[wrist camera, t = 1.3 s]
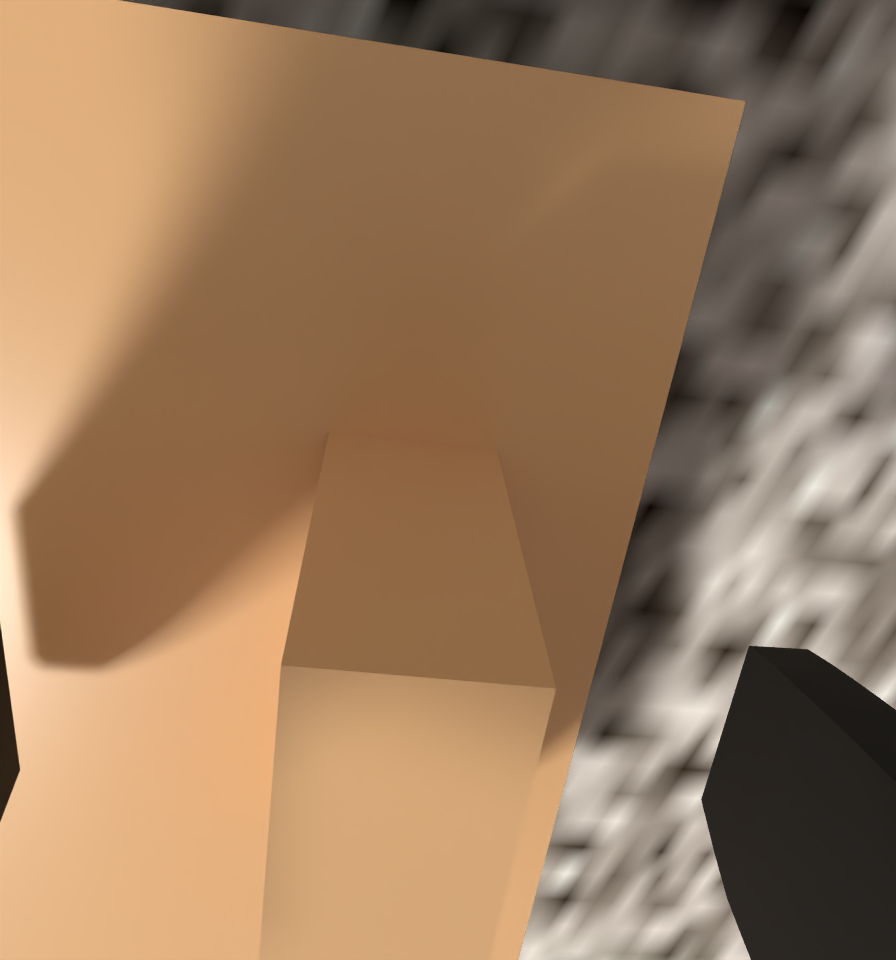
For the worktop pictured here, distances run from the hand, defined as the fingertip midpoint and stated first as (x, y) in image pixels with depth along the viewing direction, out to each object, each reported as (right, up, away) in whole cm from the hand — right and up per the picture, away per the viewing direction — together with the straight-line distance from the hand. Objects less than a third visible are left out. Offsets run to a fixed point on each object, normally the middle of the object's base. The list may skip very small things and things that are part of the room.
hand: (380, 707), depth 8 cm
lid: (-6, +1, +1) cm, 6 cm away
